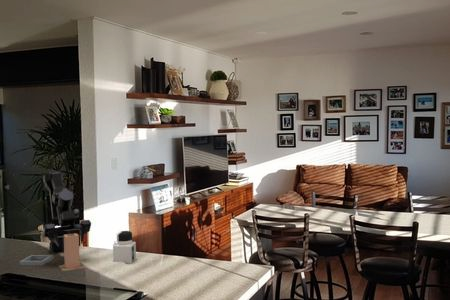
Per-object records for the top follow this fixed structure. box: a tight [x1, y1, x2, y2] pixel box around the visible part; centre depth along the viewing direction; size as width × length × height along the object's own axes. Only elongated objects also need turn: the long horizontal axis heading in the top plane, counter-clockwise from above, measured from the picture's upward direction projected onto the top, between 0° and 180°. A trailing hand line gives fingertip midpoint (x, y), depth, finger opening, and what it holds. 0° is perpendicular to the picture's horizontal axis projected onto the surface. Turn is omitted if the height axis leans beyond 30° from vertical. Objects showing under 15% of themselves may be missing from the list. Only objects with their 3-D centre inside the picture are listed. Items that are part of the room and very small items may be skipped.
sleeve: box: [63, 233, 81, 269], centre depth 185 cm, size 5×5×13 cm
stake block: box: [58, 261, 86, 272], centre depth 186 cm, size 9×9×4 cm
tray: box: [19, 254, 55, 266], centre depth 194 cm, size 10×10×2 cm
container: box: [112, 230, 137, 265], centre depth 195 cm, size 8×8×13 cm
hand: (70, 244), depth 187 cm, fingers open, 9 cm apart
